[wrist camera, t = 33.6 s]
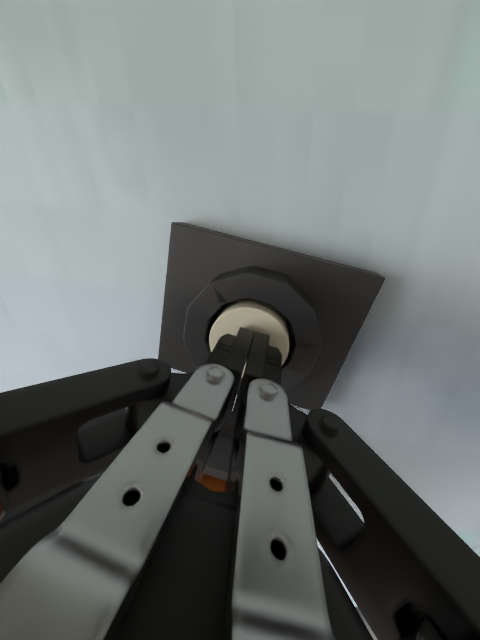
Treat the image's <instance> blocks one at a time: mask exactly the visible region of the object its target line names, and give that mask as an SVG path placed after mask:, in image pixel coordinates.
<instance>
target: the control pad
mask: <svg viewBox="0 0 480 640" xmlns="http://www.w3.org/2000/svg"><path fill="white" fill-rule="evenodd" d="M384 280H385V278H384V277H383V276H381V275H379V274H377V273H374V272H371V271H367V270H363V269H359V268H355V267H351V266H347V265H344V264H340V263H336V262H332V261H328V260H324V259H320V258H317V257H313V256H309V255H305V254H301V253H297V252H293V251H290V250H286V249H282V248H278V247H274V246H270V245H266V244H263V243H259V242H255V241H251V240H247V239H243V238H239V237H236V236H232V235H228V234H224V233H220V232H216V231H212V230H209V229H205V228H201V227H197V226H193V225H189V224H185V223H182V222H173V223H172V224H171V234H170V245H169V255H168V265H167V275H166V285H165V295H164V305H163V315H162V326H161V336H160V346H159V356H158V360H161V361H163V362H165V363H167V364H168V365H169V367H170V368H173V369H176V370H180V371H183V372H186V373H193V372H195V371H196V370H197V369H198V368H199V367H200V366H202V365H204V364H205V363H206V361H207V359H208V357H209V356H210V354H211V349H210V344H209V336H210V331H211V328H212V326H213V324H214V323H215V321H216V320H217V318H218V317H219V315H220V314H221V312H222V311H223V310H224V308H225V307H226V306H227V305H229V304H230V303H231V302H233V301H237V300H241V299H245V298H250V299H254V300H258V301H261V302H265V303H268V304H272V305H273V306H274V307H275V308H276V309H278V310H279V311H280V312H281V313H282V314H283V315H284V316H285V318H286V320H287V323H288V328H289V352H288V356H287V358H286V360H285V362H284V364H283V365H282V376H281V387H282V388H283V389H284V390H285V392H286V394H287V398H288V403H289V404H292V405H295V406H298V407H301V408H305V409H308V410H311V411H312V410H314V409H321V407H322V405H323V403H324V401H325V399H326V397H327V395H328V393H329V391H330V389H331V387H332V385H333V383H334V381H335V379H336V377H337V375H338V373H339V371H340V369H341V367H342V365H343V363H344V361H345V359H346V357H347V355H348V353H349V351H350V349H351V347H352V345H353V343H354V341H355V339H356V337H357V335H358V332H359V330H360V328H361V326H362V324H363V322H364V320H365V318H366V316H367V314H368V312H369V310H370V308H371V306H372V304H373V302H374V300H375V298H376V296H377V294H378V292H379V290H380V288H381V286H382V284H383V282H384ZM241 381H242V378H241V380H240V383H239V387H238V390H237V395H238V392H239V388H240V385H241Z"/></svg>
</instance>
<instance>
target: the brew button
mask: <svg viewBox="0 0 480 640" xmlns="http://www.w3.org/2000/svg"><path fill="white" fill-rule="evenodd" d="M240 327H242V328H246V329H249V330H253V331H254V334H253V338H252V341H251V345H250V348H249V352H248V355H247V359H246V362H245V366H244V369H243V373H242V376H241V378H243V374H244V370H245V367H246V363H247V360H248V356H249V353H250V349H251V346H252V342H253V339H254V335H255V332H260V333H263V334H267V335H270V339H269V346H273V347H276V348H278V349H279V351H280V352H281V354H282V365H283V364H284V362H285V360H286V358H287V356H288V352H289V328H288V323H287V320H286V318H285V316H284V315H283V314H282V313H281V312H280V311H279V310H278V309H276V308H275V307H274V306H273V305H272V304H268V303H265V302H261V301H258V300H254V299H250V298H245V299H241V300H237V301H233V302H231V303H230V304H229V305H227V306H226V307H225V308H224V310H223V311H222V312H221V314H220V315H219V317H218V318H217V320H216V321H215V323H214V324H213V326H212V328H211V331H210V336H209V344H210V349H211V352H212V350H213V349H214V347H215V345H216V343H217V342H218V340H219V338H220V337H221V336H223V335H225V334H227V333H228V334H231V335H235V336H236V335H237V333H238V331H239V328H240Z"/></svg>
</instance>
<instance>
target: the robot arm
mask: <svg viewBox="0 0 480 640" xmlns="http://www.w3.org/2000/svg"><path fill="white" fill-rule="evenodd" d="M253 334H254V331H253V330H249V329H246V328H242V327H240V328H239V331H238V333H237V335H236V336H235V335H231V334H228V333H227V334H225V335H223V336H221V337H220V338H219V340H218V342H217V343H216V345H215V347H214V349H213V350H212V352H211V354H210V356H209V357H208V359H207V361H206V363H205V364H204V365H202V366H200V367H199V368H198V369H197V370H196V371H195V372H193V373H188V374H179V373H171V369H170V367H169V365H168V364H167V363H165V362H163V361H161V360H158V359H141V360H137V361H133V362H129V363H124V364H120V365H116V366H112V367H108V368H103V369H99V370H95V371H91V372H87V373H82V374H78V375H74V376H70V377H66V378H61V379H57V380H53V381H49V382H44V383H40V384H36V385H32V386H28V387H23V388H19V389H15V390H11V391H7V392H2V393H0V521H1V520H2V518H3V517H4V515H6V514H8V513H10V512H13V511H15V510H17V509H19V508H21V507H23V506H25V505H27V504H29V503H31V502H33V501H35V500H37V499H39V498H41V497H43V496H45V495H47V494H49V493H51V492H54V491H56V490H58V489H60V488H62V487H64V486H66V485H68V484H70V483H72V482H74V481H76V480H78V479H80V478H82V477H84V476H86V475H88V474H90V473H92V472H95V471H97V470H99V469H101V468H103V467H105V466H107V465H109V464H111V465H110V466H109V467H108V468H107V469H106V471H105V472H102V473H98V474H96V475H93V476H91V477H88V478H86V479H84V480H82V481H80V482H78V483H76V484H74V485H72V486H70V487H69V488H67V489H65V490H63V491H61V492H59V493H57V494H55V495H53V496H51V497H50V498H48V499H46V500H44V501H42V502H40V503H38V504H36V505H34V506H32V507H31V508H29V509H27V510H25V511H23V512H21V513H19V514H17V515H15V516H13V517H12V518H10V519H8V520H6V521H4V522H2V523H0V640H373V638H372V636H371V635H370V633H369V631H368V630H367V628H366V626H365V624H364V622H363V621H362V619H361V617H360V615H359V613H358V612H357V610H356V608H355V606H354V605H353V603H352V601H351V599H350V598H349V596H348V594H347V592H346V590H345V589H344V587H343V585H342V583H341V582H340V580H339V578H338V576H337V575H336V573H335V571H334V569H333V568H332V566H331V564H330V563H329V561H328V560H327V558H326V557H325V556H324V554H323V553H322V551H321V550H320V549H319V548H318V546H317V539H318V541H319V543H320V544H321V546H322V548H323V549H324V551H325V553H326V554H327V556H328V558H329V559H330V561H331V563H332V564H333V566H334V568H335V569H336V571H337V572H338V574H339V576H340V577H341V579H342V581H343V582H344V584H345V586H346V587H347V589H348V591H349V592H350V594H351V596H352V597H353V599H354V601H355V602H356V604H357V606H358V607H359V609H360V611H361V612H362V614H363V616H364V617H365V619H366V621H367V622H368V624H369V626H370V627H371V629H372V631H373V632H374V634H375V636H376V637H377V639H378V640H480V557H479V556H478V555H477V554H476V553H475V552H474V551H473V550H472V549H471V548H470V547H469V546H468V545H467V544H466V543H465V542H464V541H463V540H462V539H461V538H460V537H459V536H458V535H457V534H456V533H455V532H454V531H453V530H452V529H451V528H450V527H449V526H448V525H447V524H446V523H445V522H444V521H443V520H442V519H441V518H440V517H439V516H438V515H437V514H436V513H435V512H434V511H433V510H432V509H431V508H430V507H429V506H428V505H427V504H426V503H425V502H424V501H423V500H422V499H421V498H420V497H419V496H418V495H417V494H416V493H415V492H414V491H413V490H412V489H411V488H410V487H409V486H408V485H407V484H406V483H405V482H404V481H403V480H402V479H401V478H400V477H399V476H398V475H397V474H396V473H395V472H394V471H393V470H392V469H391V468H390V467H389V466H388V465H387V464H386V463H385V462H384V461H383V460H382V459H381V458H380V457H379V456H378V455H377V454H376V453H375V452H374V451H373V450H372V449H371V448H370V447H369V446H368V445H367V444H366V443H365V442H364V441H363V440H362V439H361V438H360V437H359V436H358V435H357V434H356V433H355V432H354V431H353V430H352V429H351V428H350V427H349V426H348V425H347V424H346V423H345V422H344V421H343V420H342V419H341V418H340V417H338V416H337V415H336V414H334V413H332V412H330V411H327V410H324V409H314V410H312V411H310V412H309V414H308V415H306V414H305V413H303V412H301V411H299V410H297V409H296V408H294V407H293V406H291V405H290V404H289V403H288V398H287V394H286V392H285V390H284V389H283V388H282V387H281V376H282V354H281V352H280V351H279V349H278V348H276V347H273V346H269V339H270V335H267V334H263V333H260V332H255V335H254V339H253V342H252V346H251V349H250V353H249V356H248V360H247V363H246V367H245V370H244V374H243V378H242V381H241V385H240V388H239V392H238V396H237V399H236V403H235V406H234V410H233V413H232V417H231V420H232V421H235V426H234V431H233V433H234V436H233V440H232V445H231V452H230V458H229V465H228V471H227V478H226V484H225V490H224V492H218V491H212V490H209V489H208V488H206V487H205V486H203V485H202V484H200V481H201V478H202V476H203V473H204V471H205V469H206V466H207V464H208V461H209V459H210V456H211V454H212V452H213V449H214V447H215V444H216V442H217V439H218V437H219V434H220V430H221V426H222V423H223V420H224V418H226V419H229V418H230V415H231V411H232V408H233V404H234V401H235V397H236V394H237V390H238V387H239V383H240V380H241V376H242V373H243V369H244V366H245V362H246V359H247V355H248V352H249V348H250V345H251V341H252V338H253ZM123 408H125V412H123V413H120V414H118V415H115V416H112V417H109V418H107V419H104V420H101V421H99V422H96V423H93V424H90V425H88V426H85V427H82V428H80V427H81V426H82V425H83V424H84V423H86V422H88V421H90V420H92V419H95V418H98V417H100V416H103V415H106V414H109V413H112V412H115V411H117V410H120V409H123ZM331 473H332V475H333V476H334V477H335V479H336V480H337V481H338V482H339V484H340V485H341V486H342V487H343V489H344V490H345V491H346V493H347V494H348V495H349V496H350V498H351V499H352V500H353V502H354V503H355V504H356V505H357V507H358V508H359V510H360V511H361V513H362V515H363V518H364V522H363V521H362V520H361V519H360V517H359V516H358V515H357V513H356V512H355V511H354V510H353V508H352V507H351V506H350V504H349V503H348V502H347V500H346V499H345V498H344V496H343V495H342V494H341V492H340V491H339V490H338V489H337V487H336V486H335V485H334V483H333V482H332V481H331V479H330V478H329V475H330V474H331ZM316 538H317V539H316Z"/></svg>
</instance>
